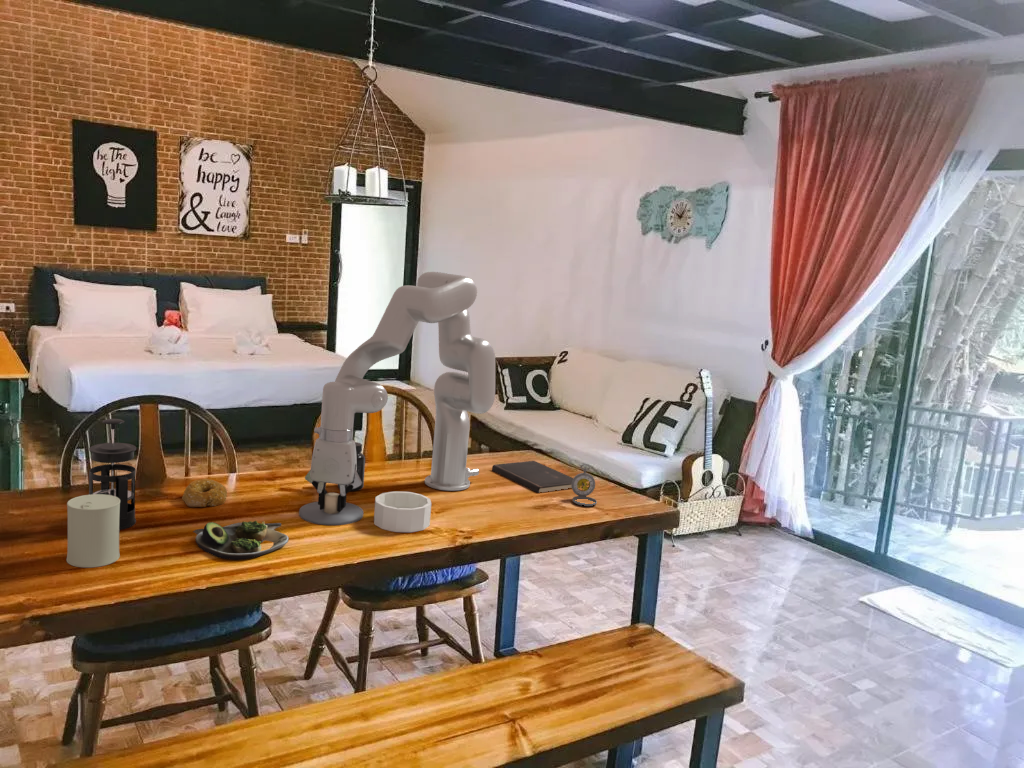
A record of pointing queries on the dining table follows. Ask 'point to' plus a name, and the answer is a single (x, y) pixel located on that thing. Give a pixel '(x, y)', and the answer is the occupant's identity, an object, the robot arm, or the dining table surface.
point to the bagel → (204, 493)
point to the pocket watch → (583, 487)
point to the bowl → (402, 511)
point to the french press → (115, 455)
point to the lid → (330, 512)
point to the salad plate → (239, 539)
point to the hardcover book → (534, 476)
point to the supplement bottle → (359, 466)
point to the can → (93, 530)
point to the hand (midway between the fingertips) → (331, 508)
